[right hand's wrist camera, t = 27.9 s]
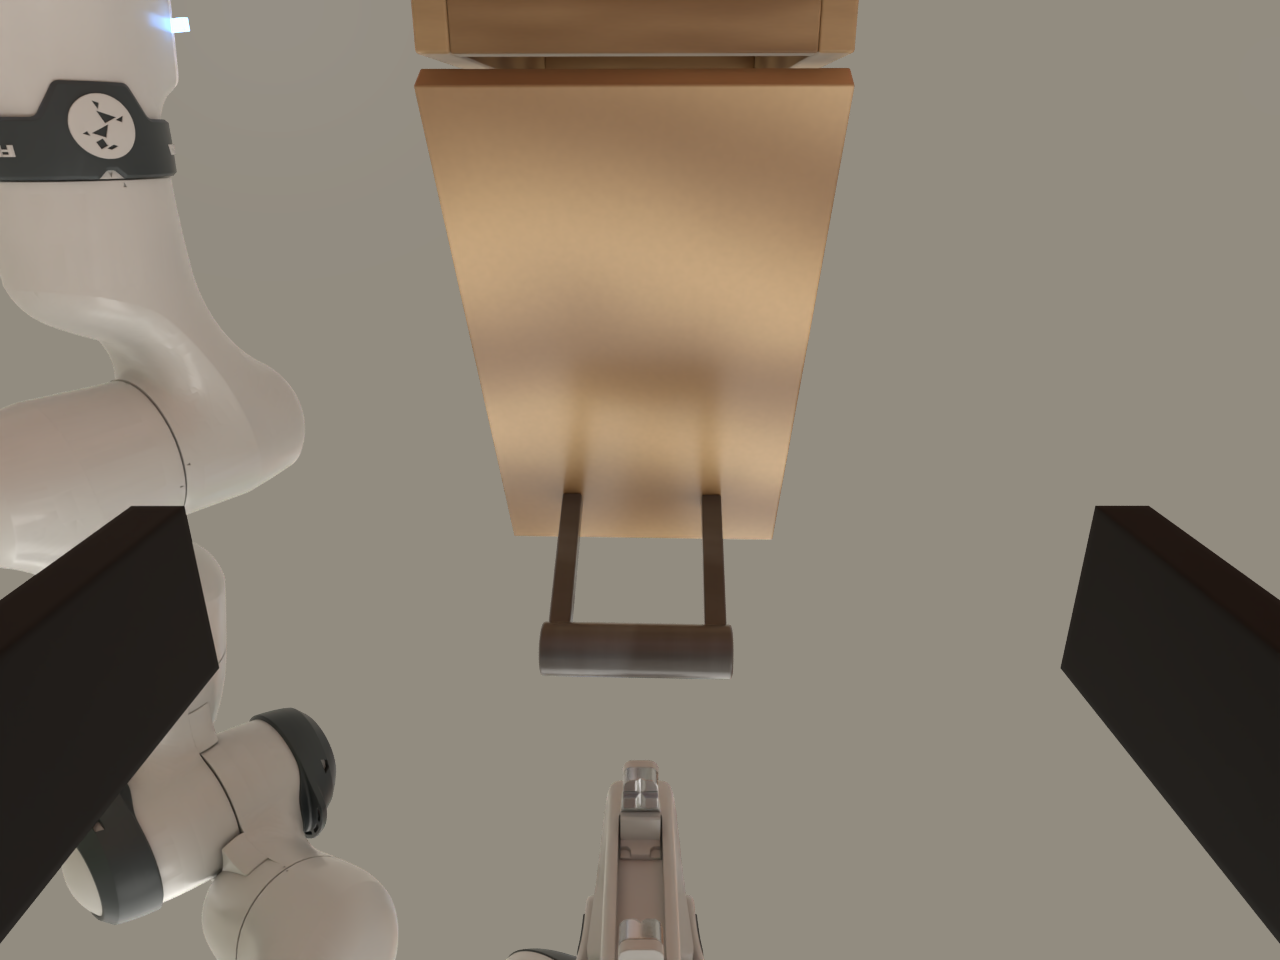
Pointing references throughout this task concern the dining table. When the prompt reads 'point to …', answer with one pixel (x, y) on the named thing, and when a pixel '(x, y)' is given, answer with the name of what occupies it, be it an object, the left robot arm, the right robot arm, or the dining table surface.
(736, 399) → the lid
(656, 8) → the chest
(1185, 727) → the right robot arm
